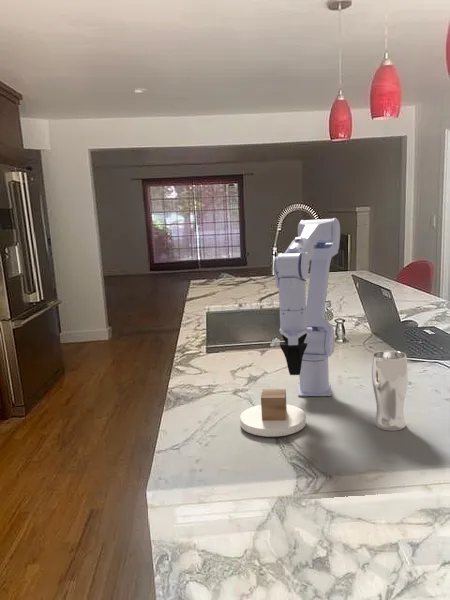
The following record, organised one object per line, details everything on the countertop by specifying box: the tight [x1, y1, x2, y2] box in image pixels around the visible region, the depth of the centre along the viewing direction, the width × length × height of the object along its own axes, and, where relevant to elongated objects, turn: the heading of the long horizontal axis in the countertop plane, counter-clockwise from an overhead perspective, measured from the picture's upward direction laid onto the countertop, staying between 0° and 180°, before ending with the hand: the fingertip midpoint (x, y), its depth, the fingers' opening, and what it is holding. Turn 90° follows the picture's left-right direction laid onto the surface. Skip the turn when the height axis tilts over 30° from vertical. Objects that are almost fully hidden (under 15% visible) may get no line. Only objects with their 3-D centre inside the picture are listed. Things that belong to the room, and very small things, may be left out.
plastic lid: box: [239, 403, 307, 438], centre depth 107 cm, size 14×14×2 cm
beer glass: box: [371, 349, 409, 432], centre depth 101 cm, size 7×7×15 cm
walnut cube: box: [260, 388, 287, 420], centre depth 106 cm, size 5×5×5 cm
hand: (295, 369), depth 110 cm, fingers open, 7 cm apart
